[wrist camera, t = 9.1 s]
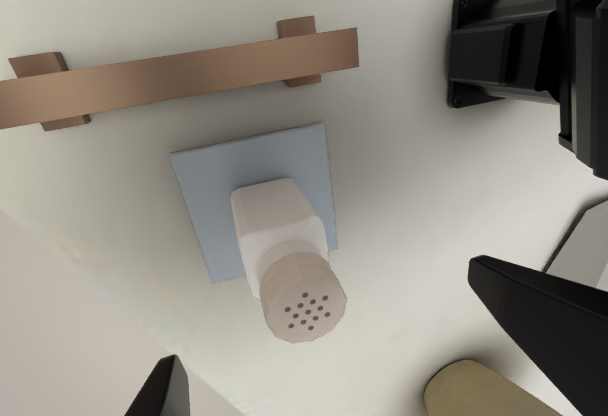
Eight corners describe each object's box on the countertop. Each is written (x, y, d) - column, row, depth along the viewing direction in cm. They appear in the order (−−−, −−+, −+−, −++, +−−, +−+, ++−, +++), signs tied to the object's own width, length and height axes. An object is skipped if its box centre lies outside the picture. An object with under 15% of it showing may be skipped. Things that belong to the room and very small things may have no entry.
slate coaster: (321, 122, 20) (324, 124, 19) (334, 244, 24) (337, 248, 23) (170, 153, 18) (169, 156, 18) (212, 278, 22) (212, 283, 22)
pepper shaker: (300, 227, 22) (359, 333, 13) (242, 243, 21) (266, 364, 13) (291, 172, 20) (353, 254, 12) (227, 187, 19) (244, 285, 11)
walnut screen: (309, 17, 17) (355, -1, 12) (316, 80, 19) (360, 90, 13) (17, 58, 15) (-88, 59, 9) (51, 128, 16) (-23, 162, 11)
